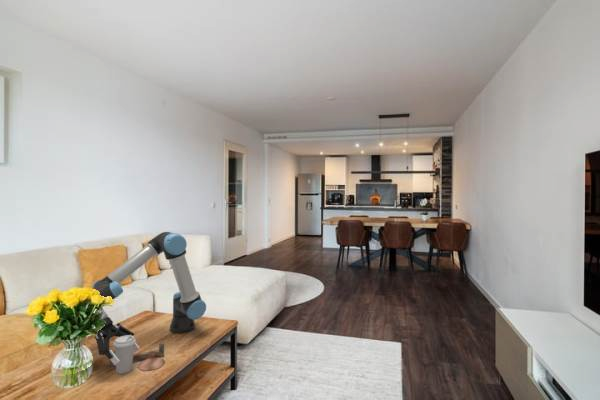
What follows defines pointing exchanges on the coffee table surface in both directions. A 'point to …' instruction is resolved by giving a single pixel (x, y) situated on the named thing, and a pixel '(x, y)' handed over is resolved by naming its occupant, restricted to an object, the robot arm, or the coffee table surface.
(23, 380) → the coffee table surface
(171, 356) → the coffee table surface
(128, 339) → the coffee cup
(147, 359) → the rail
